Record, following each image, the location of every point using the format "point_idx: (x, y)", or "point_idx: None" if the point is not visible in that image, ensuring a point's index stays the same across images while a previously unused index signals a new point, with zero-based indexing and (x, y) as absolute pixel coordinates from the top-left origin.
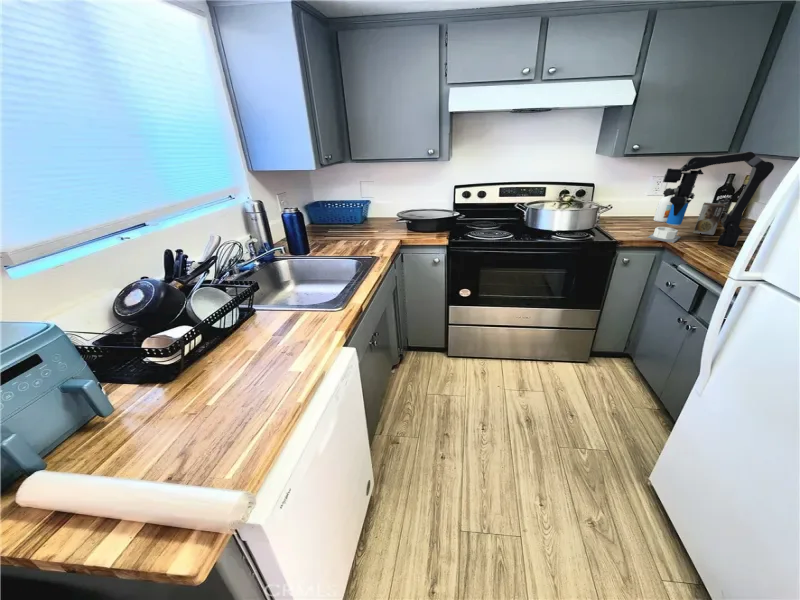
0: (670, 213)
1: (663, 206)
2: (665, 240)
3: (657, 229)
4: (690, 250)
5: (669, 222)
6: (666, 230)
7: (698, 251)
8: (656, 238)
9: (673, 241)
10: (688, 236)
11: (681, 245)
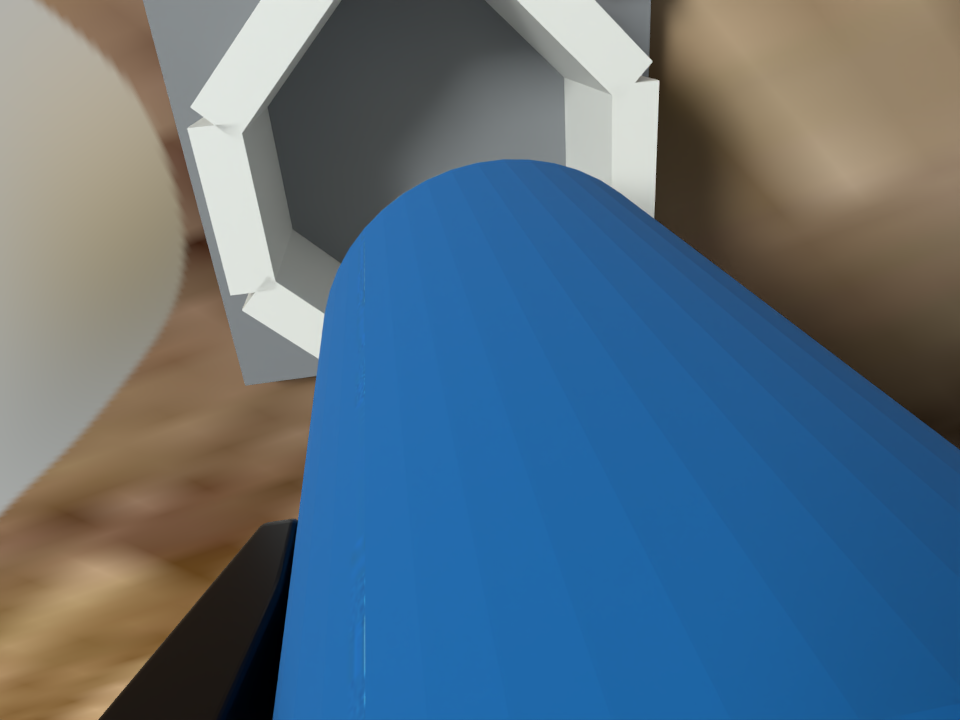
0: (363, 382)
1: None
2: (217, 256)
3: (241, 33)
4: (54, 625)
5: (327, 309)
6: (593, 129)
7: (104, 678)
8: (171, 99)
9: (244, 371)
10: (827, 348)
11: (204, 482)
